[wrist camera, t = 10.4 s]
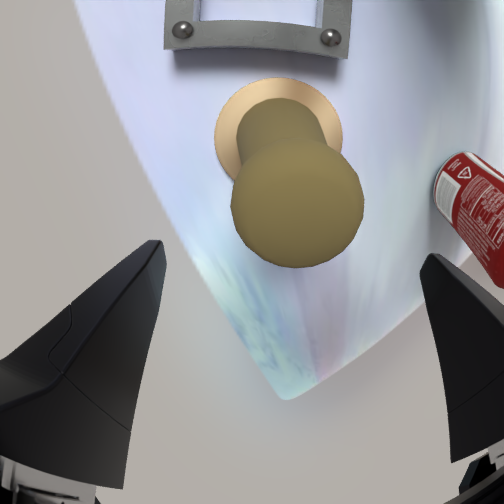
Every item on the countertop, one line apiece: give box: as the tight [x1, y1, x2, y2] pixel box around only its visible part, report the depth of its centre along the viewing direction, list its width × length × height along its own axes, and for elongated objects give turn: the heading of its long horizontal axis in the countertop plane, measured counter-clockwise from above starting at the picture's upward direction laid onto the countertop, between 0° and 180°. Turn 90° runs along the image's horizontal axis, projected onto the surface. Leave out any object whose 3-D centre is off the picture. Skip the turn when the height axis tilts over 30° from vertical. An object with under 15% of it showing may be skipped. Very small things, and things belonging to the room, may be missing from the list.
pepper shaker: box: [230, 98, 364, 268], centre depth 13 cm, size 6×6×11 cm
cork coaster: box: [214, 78, 343, 181], centre depth 18 cm, size 9×9×1 cm
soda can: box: [433, 152, 504, 289], centre depth 15 cm, size 7×7×12 cm
